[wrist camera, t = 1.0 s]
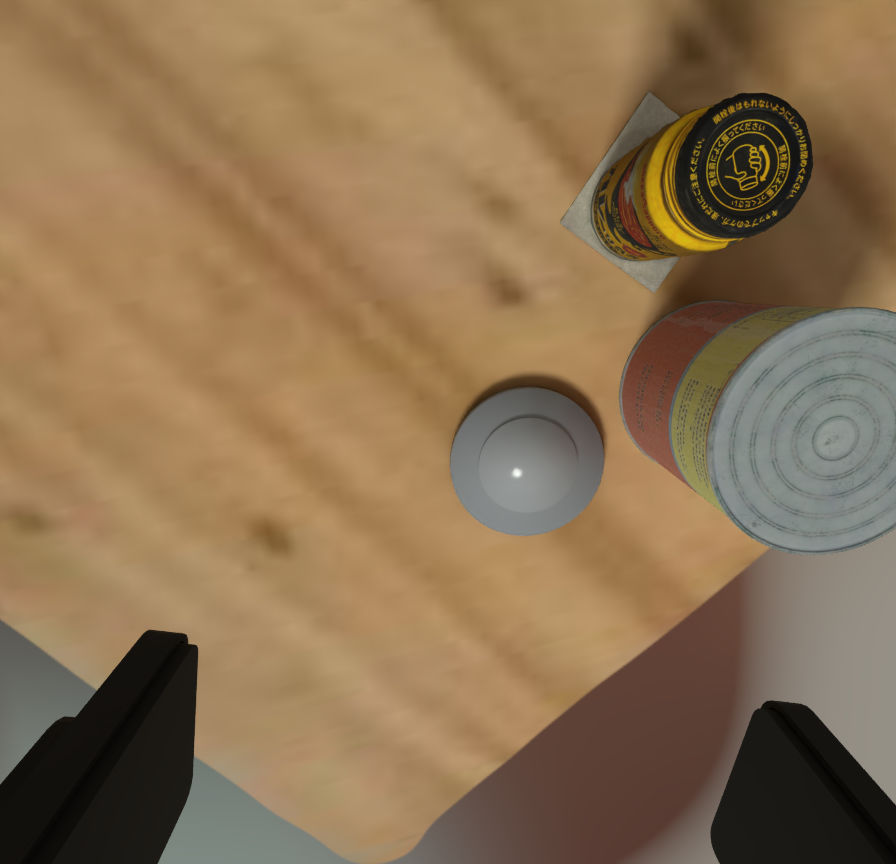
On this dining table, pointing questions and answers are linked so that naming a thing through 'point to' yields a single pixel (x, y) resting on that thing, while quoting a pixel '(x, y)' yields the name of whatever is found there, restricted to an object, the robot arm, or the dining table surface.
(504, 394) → the saucer
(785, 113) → the condiment
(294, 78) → the dining table surface
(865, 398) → the canned food
